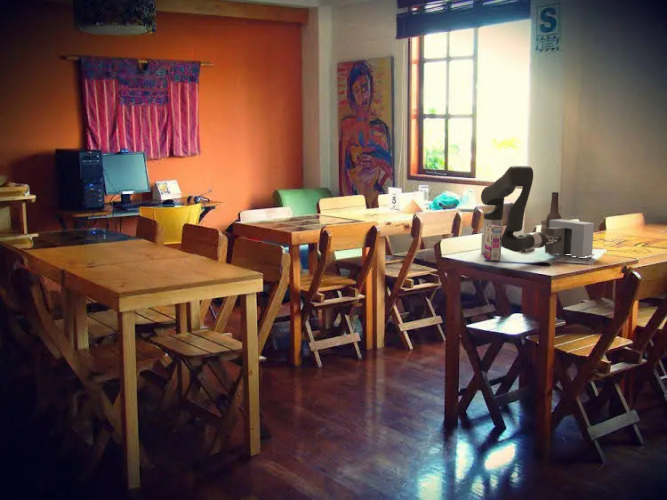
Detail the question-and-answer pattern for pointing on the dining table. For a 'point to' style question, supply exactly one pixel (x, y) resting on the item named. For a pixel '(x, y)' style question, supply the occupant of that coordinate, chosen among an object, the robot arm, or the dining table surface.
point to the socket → (575, 236)
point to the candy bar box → (492, 242)
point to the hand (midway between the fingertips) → (556, 237)
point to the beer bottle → (553, 209)
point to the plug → (555, 247)
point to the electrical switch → (528, 249)
